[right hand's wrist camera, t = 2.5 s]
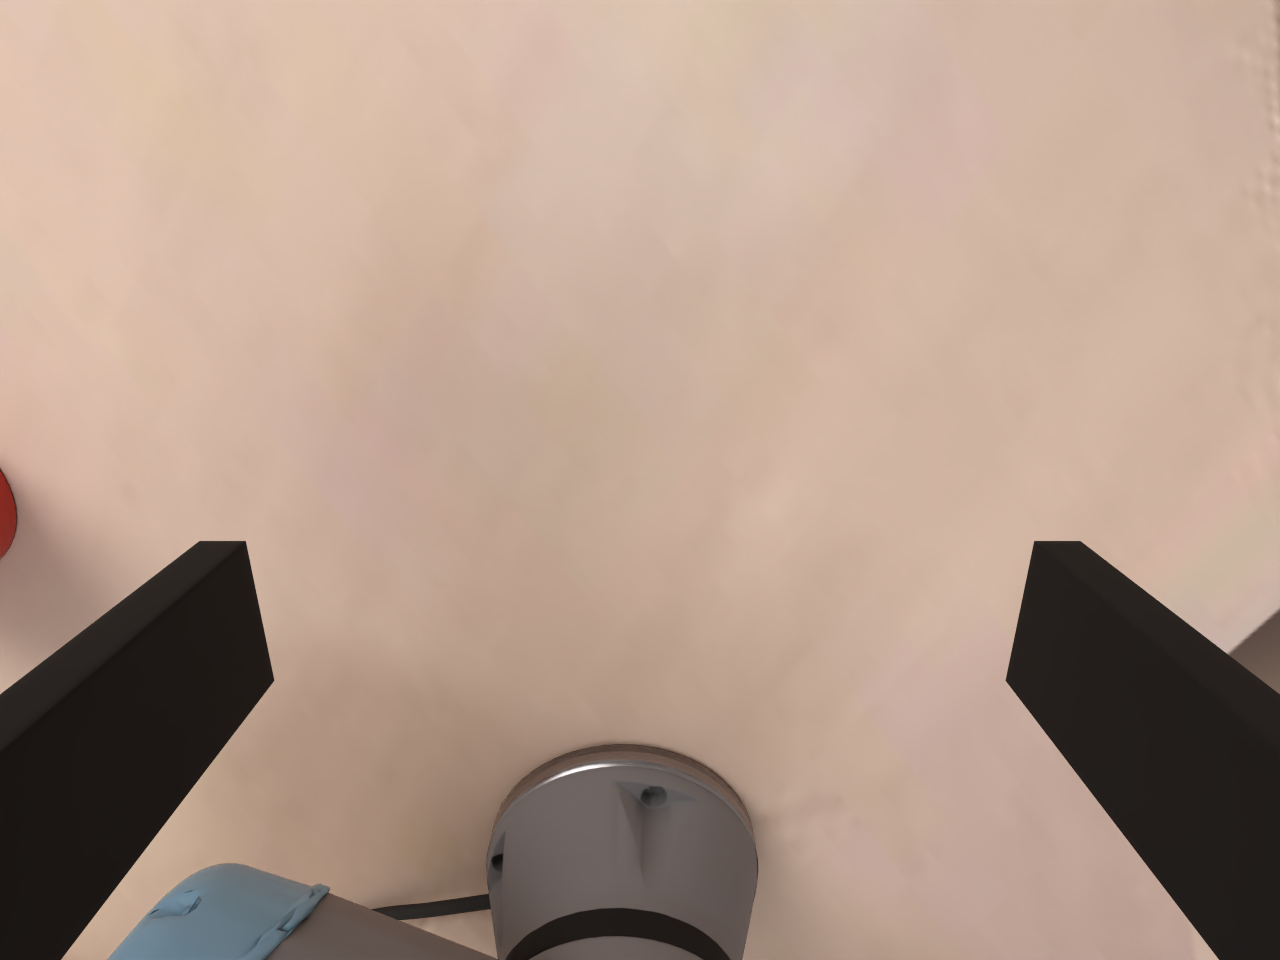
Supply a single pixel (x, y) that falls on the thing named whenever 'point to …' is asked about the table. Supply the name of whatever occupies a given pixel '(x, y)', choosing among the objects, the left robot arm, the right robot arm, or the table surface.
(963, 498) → the table surface
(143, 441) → the table surface
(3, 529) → the canister
